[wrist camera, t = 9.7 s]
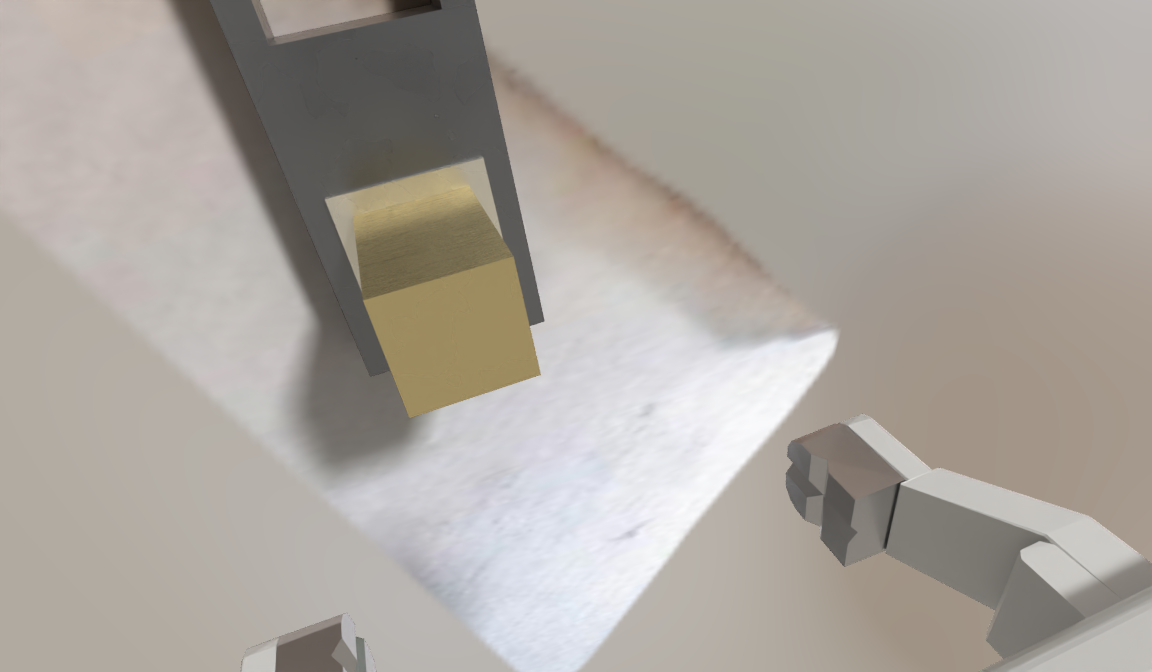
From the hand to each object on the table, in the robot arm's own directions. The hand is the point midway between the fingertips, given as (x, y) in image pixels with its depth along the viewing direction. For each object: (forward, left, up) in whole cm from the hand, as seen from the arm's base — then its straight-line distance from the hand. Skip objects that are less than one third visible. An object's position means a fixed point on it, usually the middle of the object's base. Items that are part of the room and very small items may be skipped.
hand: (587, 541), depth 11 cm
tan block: (+1, -1, -17) cm, 17 cm away
